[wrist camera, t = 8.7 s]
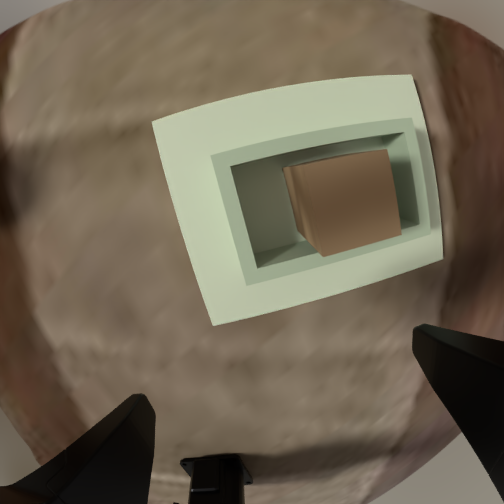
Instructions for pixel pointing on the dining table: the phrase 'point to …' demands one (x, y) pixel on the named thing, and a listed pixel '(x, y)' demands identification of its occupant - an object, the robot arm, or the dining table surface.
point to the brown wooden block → (344, 200)
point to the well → (276, 194)
